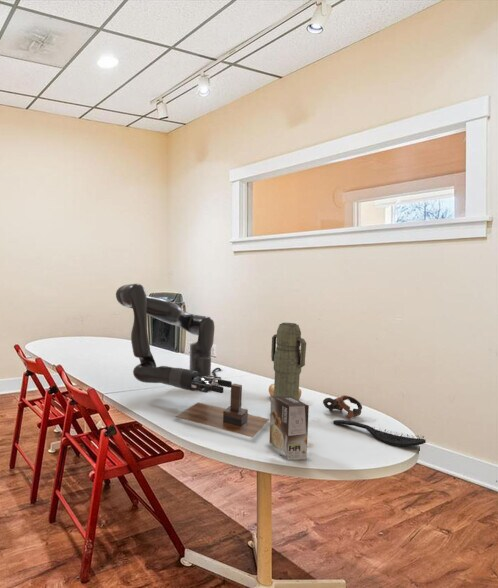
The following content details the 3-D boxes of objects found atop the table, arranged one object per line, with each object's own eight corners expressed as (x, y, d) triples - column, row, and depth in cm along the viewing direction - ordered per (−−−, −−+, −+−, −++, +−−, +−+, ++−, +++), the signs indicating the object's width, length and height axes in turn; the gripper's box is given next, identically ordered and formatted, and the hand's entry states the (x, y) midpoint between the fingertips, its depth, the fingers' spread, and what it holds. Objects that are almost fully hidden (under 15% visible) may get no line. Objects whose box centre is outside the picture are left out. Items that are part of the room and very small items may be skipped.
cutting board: (197, 406, 159) (197, 402, 159) (269, 423, 142) (269, 419, 142) (175, 420, 144) (175, 416, 144) (252, 441, 127) (252, 437, 127)
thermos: (296, 425, 140) (301, 326, 138) (263, 415, 150) (266, 322, 147) (308, 419, 145) (312, 324, 143) (275, 410, 155) (278, 320, 152)
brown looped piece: (348, 411, 155) (360, 397, 150) (356, 430, 147) (368, 415, 142) (315, 401, 157) (326, 387, 152) (321, 419, 149) (333, 405, 145)
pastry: (270, 393, 175) (271, 373, 175) (302, 398, 169) (303, 377, 168) (266, 400, 166) (267, 379, 165) (299, 406, 159) (300, 384, 158)
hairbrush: (339, 412, 144) (430, 434, 123) (339, 422, 145) (430, 446, 123) (327, 417, 140) (419, 440, 119) (327, 427, 140) (419, 453, 119)
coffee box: (308, 459, 115) (310, 405, 114) (287, 460, 115) (289, 406, 114) (287, 445, 124) (289, 395, 123) (267, 446, 124) (269, 395, 123)
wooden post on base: (229, 416, 144) (231, 381, 144) (247, 420, 140) (248, 384, 140) (223, 422, 139) (224, 385, 138) (241, 426, 135) (242, 389, 134)
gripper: (175, 372, 146) (220, 381, 136) (191, 365, 157) (234, 372, 146) (175, 392, 147) (220, 402, 136) (191, 384, 158) (233, 392, 147)
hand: (227, 387), depth 141 cm, fingers open, 8 cm apart
